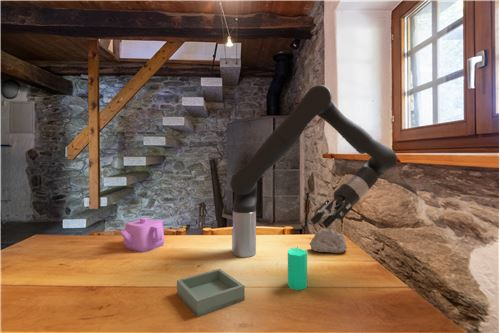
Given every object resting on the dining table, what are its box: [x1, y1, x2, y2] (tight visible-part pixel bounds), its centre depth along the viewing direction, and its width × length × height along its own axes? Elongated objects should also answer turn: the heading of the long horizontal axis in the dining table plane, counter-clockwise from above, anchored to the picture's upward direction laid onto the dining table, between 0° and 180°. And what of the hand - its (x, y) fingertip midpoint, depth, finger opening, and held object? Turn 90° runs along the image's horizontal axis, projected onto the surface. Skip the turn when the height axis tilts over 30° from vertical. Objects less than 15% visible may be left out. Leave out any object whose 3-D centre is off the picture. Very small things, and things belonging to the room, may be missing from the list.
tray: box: [176, 268, 246, 318], centre depth 80 cm, size 14×14×4 cm
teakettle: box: [119, 217, 165, 253], centre depth 123 cm, size 17×17×12 cm
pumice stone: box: [309, 228, 348, 254], centre depth 116 cm, size 15×8×10 cm, turn 84°
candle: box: [287, 246, 308, 291], centre depth 87 cm, size 6×6×12 cm
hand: (317, 224), depth 92 cm, fingers open, 8 cm apart
